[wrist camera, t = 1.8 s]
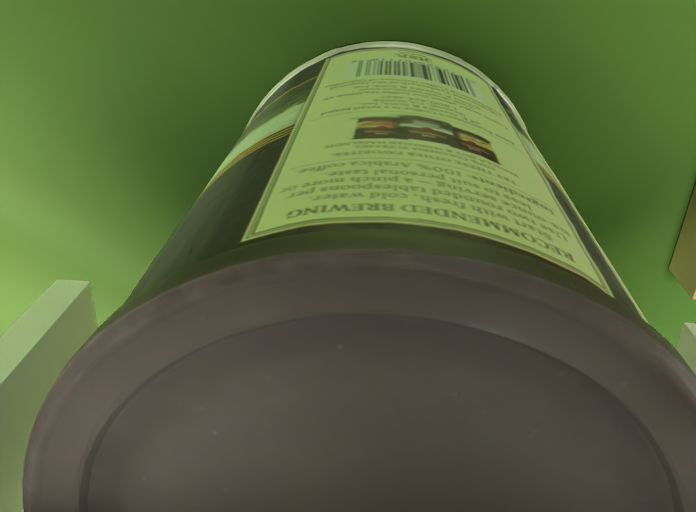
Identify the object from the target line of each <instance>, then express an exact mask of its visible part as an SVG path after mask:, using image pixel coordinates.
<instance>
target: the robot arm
mask: <svg viewBox="0 0 696 512" xmlns="http://www.w3.org/2000/svg"><path fill="white" fill-rule="evenodd" d="M97 329H98V326H97V320H96V314H95V308H94V301H93V295H92V289H91V283H90V281H78V280H63V279H56V280H55V282H54V283H53V284H52V285H51V286H50V287H49V288H48V289H47V290H46V291H45V292H44V293H43V294H42V295H41V296H40V297H39V298H38V299H37V300H36V301H35V302H34V303H33V304H32V305H31V306H30V307H29V308H28V309H27V310H26V311H25V312H24V313H23V314H22V315H21V316H20V317H19V318H18V320H17V321H16V322H15V323H14V324H13V325H12V326H11V327H10V328H9V329H8V330H7V331H6V332H5V333H4V334H3V335H2V336H1V337H0V512H21V511H22V510H23V490H22V478H23V468H24V460H25V454H26V449H27V444H28V440H29V436H30V433H31V430H32V427H33V425H34V422H35V419H36V416H37V413H38V410H39V408H40V406H41V404H42V403H43V401H44V399H45V397H46V396H47V394H48V392H49V390H50V388H51V387H52V385H53V384H54V382H55V380H56V379H57V377H58V375H59V374H60V372H61V371H62V370H63V368H64V367H65V366H66V364H67V363H68V362H69V360H70V359H71V358H72V356H73V355H74V354H75V353H76V352H77V351H78V350H79V349H80V347H81V346H82V345H83V344H84V343H85V342H86V341H87V340H88V338H89V337H90V336H91V335H92V334H93V333H94V332H95V331H96V330H97ZM675 349H676V350H677V351H678V352H679V353H680V355H681V356H682V357H683V359H684V360H685V361H686V363H687V364H688V365H689V367H690V368H691V369H692V371H693V372H694V373H695V375H696V323H687V322H684V324H683V327H682V330H681V333H680V336H679V339H678V342H677V345H676V348H675Z"/></svg>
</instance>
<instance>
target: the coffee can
mask: <svg viewBox="0 0 696 512" xmlns="http://www.w3.org/2000/svg"><path fill="white" fill-rule="evenodd" d="M22 490H23V510H24V512H696V375H695V373H694V372H693V371H692V369H691V368H690V367H689V365H688V364H687V363H686V361H685V360H684V359H683V357H682V356H681V355H680V353H679V352H678V351H677V350H676V349H675V348H674V347H673V346H672V345H671V344H670V343H669V342H668V340H666V339H665V338H664V337H663V336H662V335H661V334H660V333H659V332H657V331H656V330H655V329H654V328H653V327H652V326H651V325H650V324H649V323H648V321H647V320H646V318H645V316H644V315H643V313H642V312H641V310H640V309H639V307H638V305H637V304H636V302H635V301H634V299H633V297H632V296H631V294H630V293H629V291H628V289H627V288H626V286H625V285H624V283H623V282H622V280H621V278H620V277H619V275H618V274H617V272H616V270H615V269H614V267H613V266H612V264H611V263H610V261H609V259H608V258H607V256H606V255H605V253H604V252H603V250H602V249H601V247H600V245H599V244H598V242H597V241H596V239H595V238H594V236H593V234H592V233H591V231H590V230H589V228H588V227H587V225H586V223H585V222H584V220H583V219H582V217H581V215H580V214H579V212H578V211H577V209H576V207H575V206H574V204H573V203H572V201H571V199H570V198H569V196H568V195H567V193H566V192H565V190H564V189H563V187H562V185H561V183H560V182H559V180H558V179H557V177H556V176H555V174H554V173H553V171H552V170H551V169H550V167H549V166H548V164H547V163H546V161H545V159H544V158H543V156H542V155H541V153H540V152H539V150H538V149H537V147H536V146H535V144H534V142H533V141H532V139H531V138H530V136H529V135H528V132H527V129H526V126H525V124H524V122H523V120H522V118H521V117H520V115H519V113H518V111H517V110H516V108H515V106H514V105H513V103H512V102H511V101H510V100H509V98H508V97H507V96H506V95H505V94H504V92H503V91H502V90H501V89H500V88H499V87H498V86H497V85H496V84H495V83H494V82H493V81H492V80H491V79H489V78H488V77H487V76H486V75H485V74H483V73H482V72H481V71H480V70H478V69H477V68H475V67H474V66H472V65H470V64H469V63H467V62H466V61H464V60H463V59H462V58H459V57H456V56H453V55H451V54H449V53H446V52H444V51H441V50H438V49H435V48H432V47H428V46H423V45H419V44H414V43H407V42H396V41H376V42H364V43H359V44H354V45H348V46H345V47H341V48H335V49H332V50H330V51H328V52H325V53H323V54H321V55H319V56H317V57H315V58H314V59H311V60H309V61H307V62H305V63H304V64H302V65H301V66H299V67H297V68H296V69H295V70H293V71H292V72H291V73H289V74H288V75H287V76H286V77H284V78H283V79H282V80H281V81H280V82H279V83H278V84H277V85H276V86H275V87H274V88H273V89H271V91H270V92H269V93H268V94H267V95H266V96H265V98H264V99H263V100H262V101H261V103H260V104H259V106H258V107H257V109H256V110H255V112H254V113H253V115H252V117H251V119H250V120H249V122H248V124H247V126H246V127H245V130H244V131H243V133H242V135H241V136H240V138H239V140H238V141H237V142H236V144H235V145H234V146H233V148H232V149H231V151H230V152H229V154H228V155H227V157H226V158H225V160H224V161H223V162H222V164H221V165H220V167H219V168H218V170H217V171H216V173H215V174H214V176H213V177H212V179H211V180H210V182H209V183H208V184H207V186H206V187H205V189H204V190H203V192H202V193H201V195H200V196H199V197H198V199H197V200H196V202H195V203H194V204H193V206H192V207H191V208H190V210H189V211H188V212H187V214H186V215H185V217H184V218H183V220H182V221H181V222H180V224H179V225H178V226H177V228H176V229H175V231H174V232H173V233H172V235H171V237H170V238H169V240H168V241H167V243H166V244H165V246H164V247H163V248H162V250H161V251H160V253H159V254H158V255H157V257H156V258H155V259H154V261H153V262H152V263H151V265H150V267H149V268H148V270H147V271H146V273H145V274H144V276H143V277H142V278H141V280H140V281H139V283H138V285H137V286H136V287H135V289H134V290H133V292H132V293H131V295H130V296H129V297H128V299H127V300H126V302H125V303H124V305H122V306H121V307H120V308H119V309H118V310H117V311H115V312H114V313H113V314H112V315H111V316H110V317H109V318H108V319H107V320H106V321H105V322H104V323H103V324H102V325H101V326H99V327H98V329H97V330H96V331H95V332H94V333H93V334H92V335H91V336H90V337H89V338H88V340H87V341H86V342H85V343H84V344H83V345H82V346H81V347H80V349H79V350H78V351H77V352H76V353H75V354H74V355H73V356H72V358H71V359H70V360H69V362H68V363H67V364H66V366H65V367H64V368H63V370H62V371H61V372H60V374H59V375H58V377H57V379H56V380H55V382H54V384H53V385H52V387H51V388H50V390H49V392H48V394H47V396H46V397H45V399H44V401H43V403H42V404H41V406H40V408H39V410H38V413H37V416H36V419H35V422H34V425H33V427H32V430H31V433H30V436H29V440H28V444H27V449H26V454H25V460H24V468H23V478H22Z"/></svg>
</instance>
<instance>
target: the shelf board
mask: <svg viewBox="0 0 696 512" xmlns="http://www.w3.org/2000/svg"><path fill="white" fill-rule="evenodd" d="M669 270H670V271H671V273H672V274H673V275H674V276H675V278H676V279H677V280H678V281H679V283H680V284H681V285H682V287H683V288H684V289H685V290H686V292H687V293H688V294H689V295H690V297H691V298H692V299H696V184H695V187H694V190H693V194H692V197H691V200H690V203H689V206H688V209H687V213H686V216H685V219H684V222H683V225H682V228H681V232H680V235H679V238H678V241H677V244H676V247H675V251H674V254H673V257H672V260H671V263H670V266H669Z"/></svg>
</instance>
